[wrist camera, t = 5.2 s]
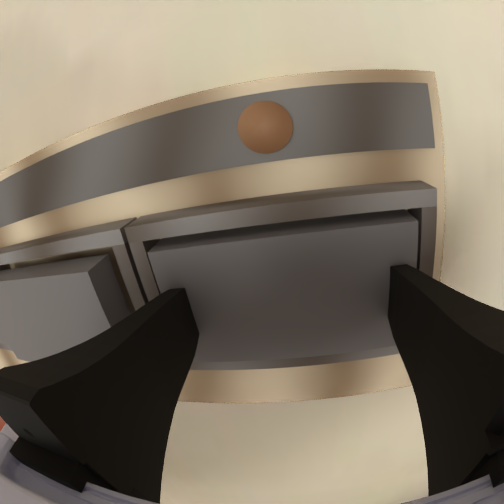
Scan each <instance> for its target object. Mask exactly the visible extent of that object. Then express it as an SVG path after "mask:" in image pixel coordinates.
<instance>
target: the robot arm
mask: <svg viewBox="0 0 504 504" xmlns="http://www.w3.org/2000/svg"><path fill="white" fill-rule="evenodd" d="M388 320H389V324H390V328H391V332H392V335H393V339H394V341H395V344H396V346H397V348H398V351H399V353H400V356H401V358H402V361H403V363H404V366H405V368H406V371H407V373H408V376H409V378H410V381H411V383H412V386H413V389H414V392H415V395H416V399H417V403H418V408H419V412H420V417H421V422H422V428H423V434H424V440H425V448H426V457H427V467H428V489H429V496H428V497H425V498H421V499H417V500H414V501H410V502H406V503H401V504H504V311H502V310H499V309H496V308H494V307H491V306H489V305H486V304H484V303H481V302H479V301H476V300H474V299H472V298H470V297H468V296H466V295H464V294H462V293H460V292H458V291H456V290H454V289H452V288H450V287H448V286H446V285H445V284H443V283H441V282H439V281H437V280H436V279H434V278H432V277H430V276H429V275H427V274H425V273H423V272H422V271H420V270H418V269H416V268H414V267H412V266H410V265H407V264H404V265H397V266H390V287H389V304H388ZM199 334H200V333H199V330H198V327H197V324H196V321H195V318H194V315H193V312H192V309H191V306H190V303H189V299H188V296H187V293H186V290H185V288H176V289H169V290H167V291H165V292H163V293H162V294H160V295H158V296H157V297H155V298H154V299H152V300H151V301H149V302H148V303H146V304H145V305H143V306H142V307H141V308H139V309H138V310H136V311H135V312H133V313H132V314H130V315H129V316H127V317H126V318H124V319H123V320H121V321H120V322H118V323H116V324H115V325H113V326H112V327H110V328H109V329H107V330H105V331H104V332H102V333H100V334H98V335H96V336H95V337H93V338H91V339H89V340H87V341H85V342H83V343H81V344H78V345H76V346H74V347H71V348H69V349H67V350H64V351H62V352H60V353H57V354H54V355H51V356H48V357H45V358H42V359H39V360H35V361H32V362H28V363H23V364H18V365H13V366H8V367H4V368H2V369H0V416H1V417H2V419H3V420H4V421H5V422H6V424H5V426H4V427H3V429H2V430H1V431H0V504H160V492H161V480H162V472H163V464H164V457H165V451H166V446H167V441H168V435H169V431H170V426H171V422H172V418H173V414H174V410H175V407H176V404H177V401H178V399H179V396H180V393H181V391H182V388H183V386H184V383H185V380H186V378H187V375H188V373H189V370H190V367H191V365H192V362H193V359H194V356H195V353H196V349H197V344H198V339H199Z"/></svg>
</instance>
